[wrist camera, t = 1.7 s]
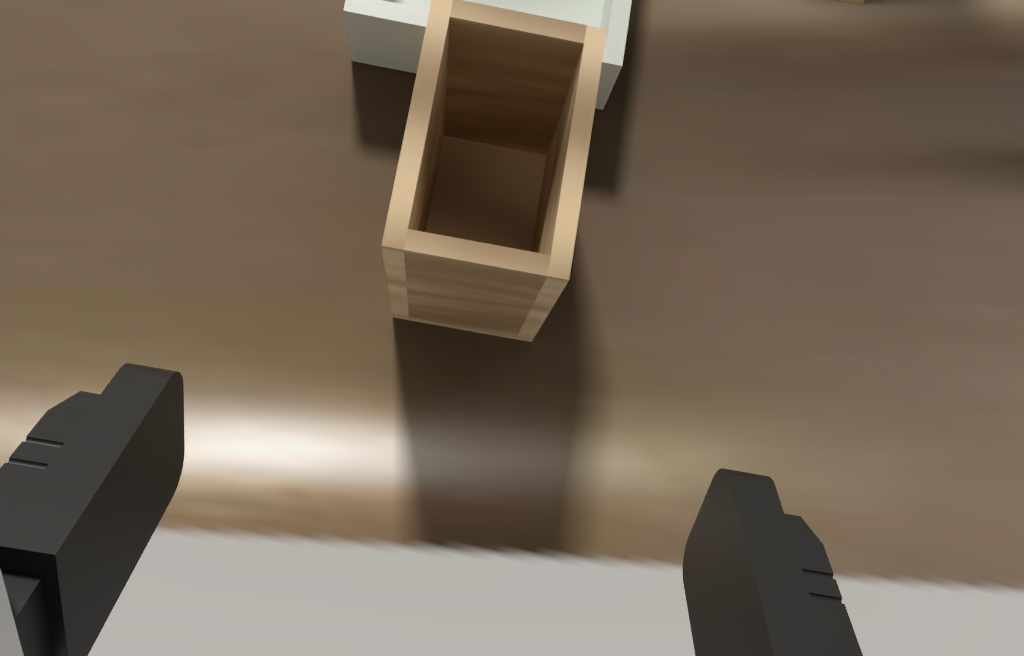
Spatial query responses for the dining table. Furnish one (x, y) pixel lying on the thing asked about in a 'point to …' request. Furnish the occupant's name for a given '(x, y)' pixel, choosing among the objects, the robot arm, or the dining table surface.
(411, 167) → the oak crate
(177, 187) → the dining table surface
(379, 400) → the dining table surface
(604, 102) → the grey crate
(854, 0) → the sandwich container
